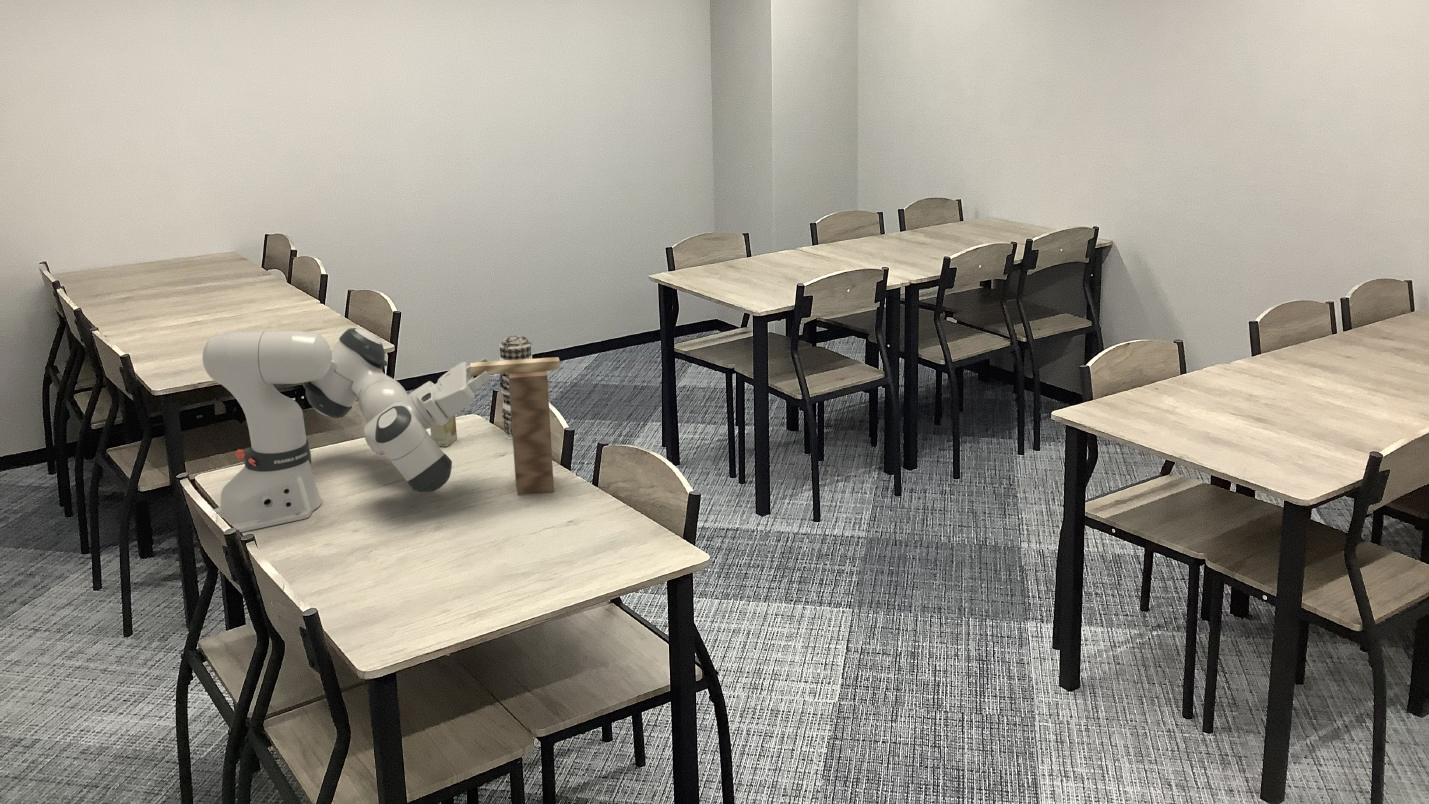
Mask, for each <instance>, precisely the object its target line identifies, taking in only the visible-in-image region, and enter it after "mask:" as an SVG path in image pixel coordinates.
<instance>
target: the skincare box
mask: <svg viewBox="0 0 1429 804" xmlns="http://www.w3.org/2000/svg"><path fill="white" fill-rule="evenodd" d="M456 420H457V419H456V415H454V416H453V417H451V418H449V422H448V423H446V424H445V425H443V426H440V425H438V424H437V425H436V426H434V427H432V428H429V429H430V436H431V437H432V438H433V440H434V441H435V442H436V443H437V445H438V446H439V447H445V448H446V447H448V446H450V445H452V444H453V443H454V442H455V441H456V440H458V434H457V433H458V432H457V423H456V422H457V421H456Z"/></svg>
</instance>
